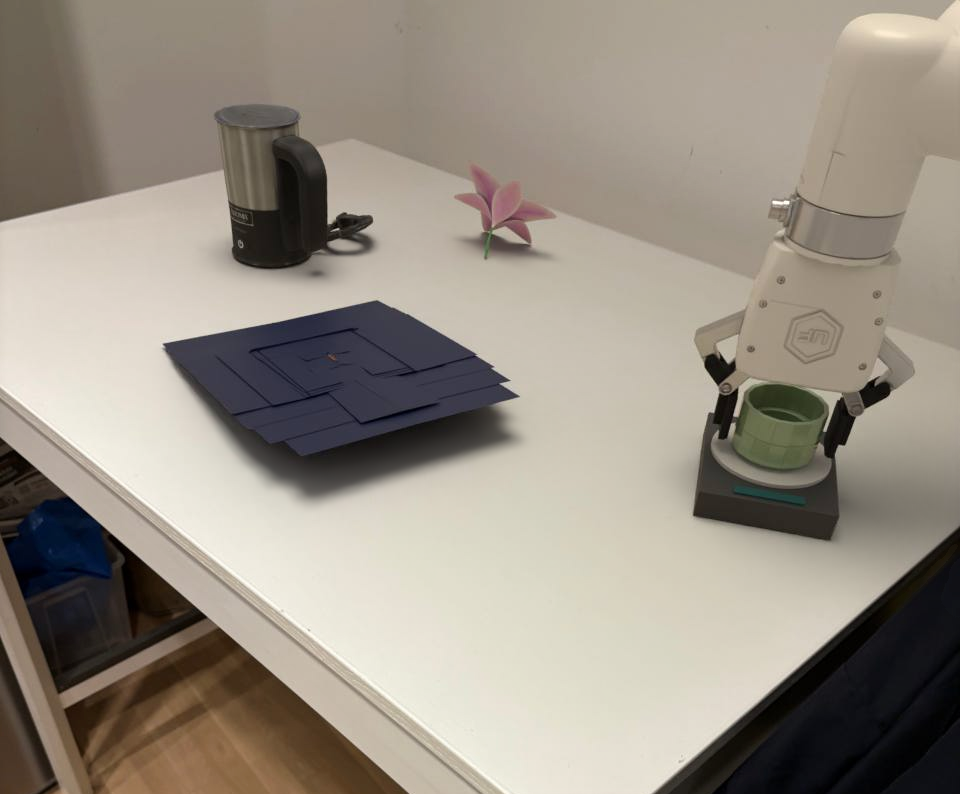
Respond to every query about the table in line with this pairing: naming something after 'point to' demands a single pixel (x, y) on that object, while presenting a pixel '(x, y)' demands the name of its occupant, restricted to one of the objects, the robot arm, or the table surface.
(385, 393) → the papers
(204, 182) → the table surface
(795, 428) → the bowl
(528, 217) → the lily
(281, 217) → the milk frother
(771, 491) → the scale
